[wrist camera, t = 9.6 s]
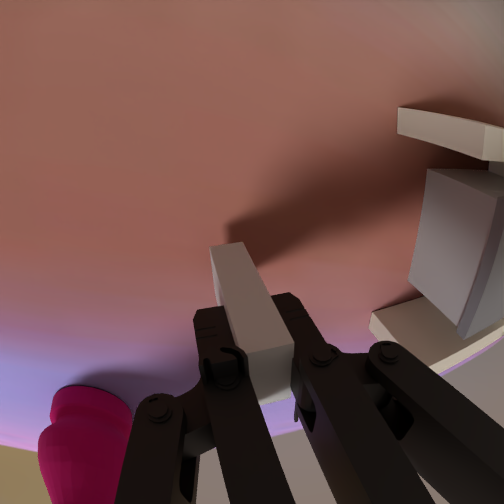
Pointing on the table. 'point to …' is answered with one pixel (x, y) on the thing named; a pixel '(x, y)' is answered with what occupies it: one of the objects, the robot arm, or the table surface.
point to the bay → (421, 309)
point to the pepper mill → (84, 446)
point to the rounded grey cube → (462, 247)
